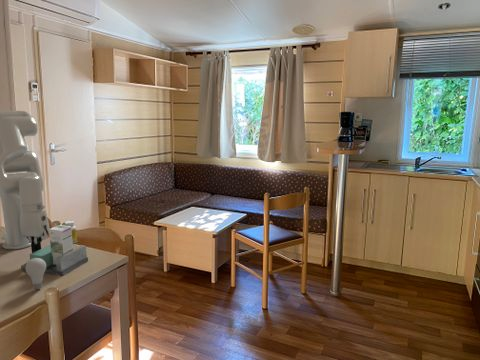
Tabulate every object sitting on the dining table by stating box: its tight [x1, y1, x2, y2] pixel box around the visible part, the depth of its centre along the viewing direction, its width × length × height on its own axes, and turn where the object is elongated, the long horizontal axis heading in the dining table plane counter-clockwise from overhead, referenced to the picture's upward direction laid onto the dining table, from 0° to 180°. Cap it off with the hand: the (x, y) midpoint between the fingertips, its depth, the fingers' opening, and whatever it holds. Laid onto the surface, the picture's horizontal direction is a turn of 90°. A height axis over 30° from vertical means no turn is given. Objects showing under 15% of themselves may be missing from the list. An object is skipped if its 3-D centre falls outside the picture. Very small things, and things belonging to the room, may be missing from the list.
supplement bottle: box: [64, 220, 78, 244], centre depth 167 cm, size 5×5×10 cm
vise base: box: [20, 244, 89, 276], centre depth 143 cm, size 19×14×6 cm
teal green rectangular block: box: [29, 244, 52, 267], centre depth 143 cm, size 6×14×5 cm, turn 165°
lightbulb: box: [25, 258, 46, 290], centre depth 123 cm, size 6×6×11 cm
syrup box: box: [48, 224, 74, 265], centre depth 140 cm, size 6×6×14 cm
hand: (36, 252), depth 145 cm, fingers closed
